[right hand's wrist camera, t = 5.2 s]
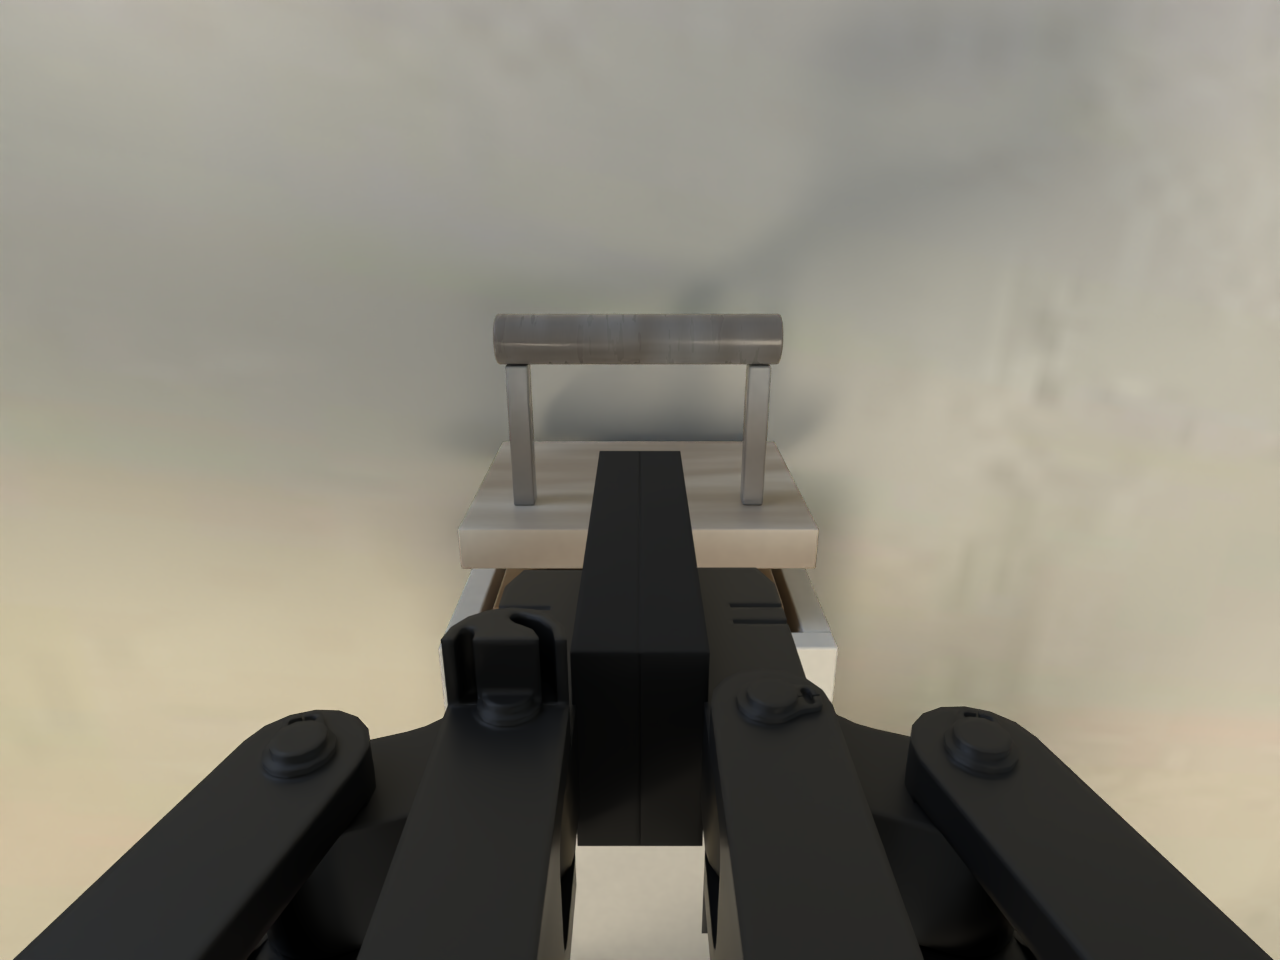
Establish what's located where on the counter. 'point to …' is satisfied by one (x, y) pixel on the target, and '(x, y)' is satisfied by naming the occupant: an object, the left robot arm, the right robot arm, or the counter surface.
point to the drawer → (636, 449)
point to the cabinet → (659, 875)
